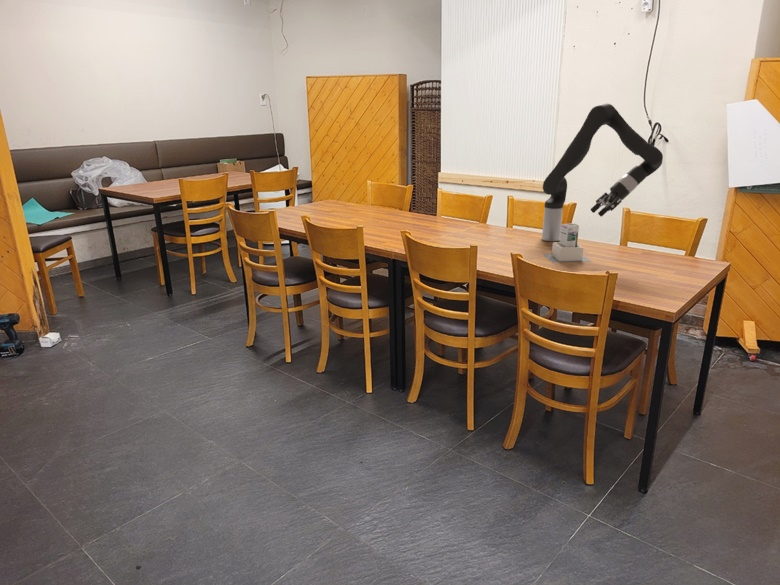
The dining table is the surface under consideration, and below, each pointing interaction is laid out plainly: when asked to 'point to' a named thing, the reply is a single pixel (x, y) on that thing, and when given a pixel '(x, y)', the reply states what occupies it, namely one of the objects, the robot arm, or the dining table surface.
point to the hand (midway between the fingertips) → (595, 213)
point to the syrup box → (569, 235)
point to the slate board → (564, 261)
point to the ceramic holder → (567, 252)
